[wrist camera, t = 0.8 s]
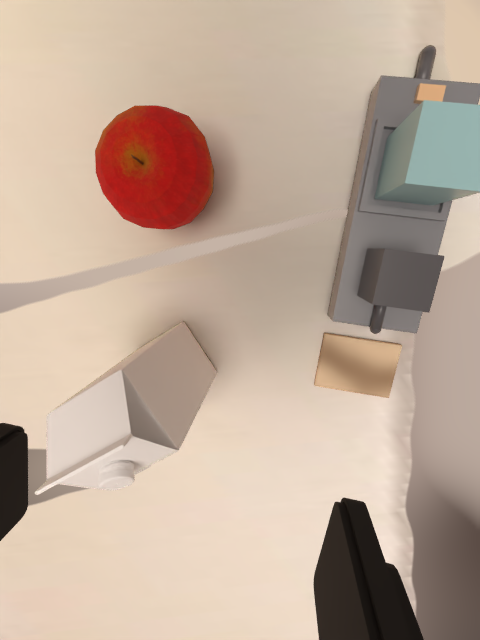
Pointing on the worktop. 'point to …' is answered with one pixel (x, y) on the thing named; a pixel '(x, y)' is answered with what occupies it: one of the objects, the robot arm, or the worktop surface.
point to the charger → (432, 155)
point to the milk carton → (129, 414)
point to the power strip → (392, 217)
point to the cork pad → (357, 365)
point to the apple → (154, 167)
